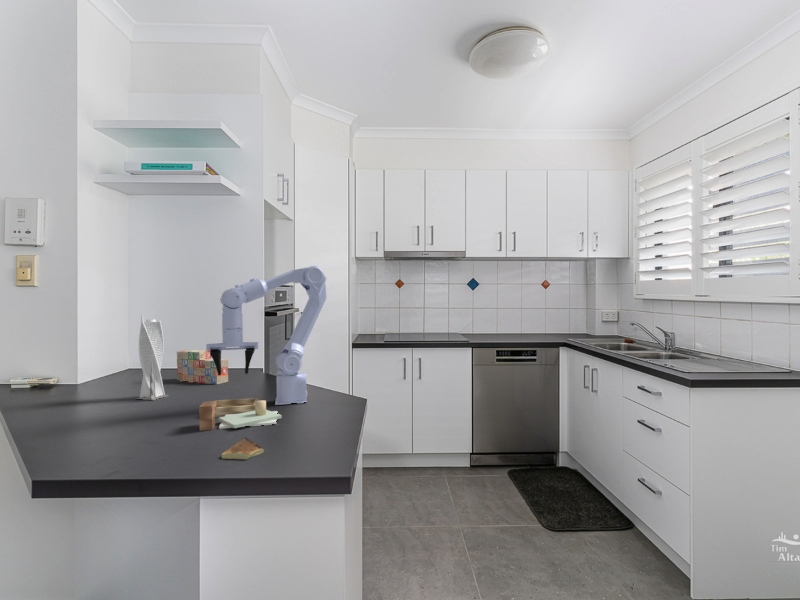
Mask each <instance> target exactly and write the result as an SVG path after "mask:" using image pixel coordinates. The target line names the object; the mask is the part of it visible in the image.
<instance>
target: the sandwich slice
mask: <svg viewBox="0 0 800 600" xmlns="http://www.w3.org/2000/svg"><path fill="white" fill-rule="evenodd" d="M264 451H265V449H264V448H263V447H262V446H260V445H258V444H257V443H256V442H255V441H253V440H250V439H249V438H247V437H244V438H243V439H241V440H240V441H238V442H236V443H235V444H233V445H232V446H229V448H227V449H226V450H225V451H223V452H222V453H221V459H224V460H225V459H229V460H231V459H232V460H233V459H234V460H245V461H246V460H248V459H250V458H252V457H255V456H258V455H261V453H262V454H263V453H264Z"/></svg>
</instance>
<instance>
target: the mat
mask: <svg viewBox="0 0 800 600" xmlns="http://www.w3.org/2000/svg"><path fill="white" fill-rule="evenodd" d="M270 411H271V412H274V413H278V410H270ZM278 414H279V413H278ZM230 415H235V414H227V415H225V416H230ZM225 416H224V417H225ZM277 420H278V419H275V420H271V421H266V422H261V423H257V424H252V425H248V426H250V427H259V426H260V427H261V425H264V426H273V425H272V424H276V425H277V422H276V421H277ZM242 428H246V427H245V426H243V427H242ZM218 429H219V430H223V429H234V428H233V427H231V426H229V425H227V424H225V423H222V422H220V424H219V426H218Z"/></svg>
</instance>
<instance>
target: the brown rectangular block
mask: <svg viewBox="0 0 800 600" xmlns="http://www.w3.org/2000/svg"><path fill="white" fill-rule="evenodd" d="M198 409H199V410H198V411H199V414H198V415H199V418H198V419H199V431H201V432H202V431H212V430H214V428H215V426H216V417H215V411H216V409H217V402H216V400H209V401H206V400H205V401H203V403H201V404H200V405H199V407H198Z"/></svg>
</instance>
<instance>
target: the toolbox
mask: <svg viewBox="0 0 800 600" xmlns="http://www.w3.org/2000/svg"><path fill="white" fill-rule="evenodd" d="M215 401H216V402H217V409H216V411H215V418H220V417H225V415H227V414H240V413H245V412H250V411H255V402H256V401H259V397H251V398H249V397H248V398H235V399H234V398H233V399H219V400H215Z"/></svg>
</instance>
